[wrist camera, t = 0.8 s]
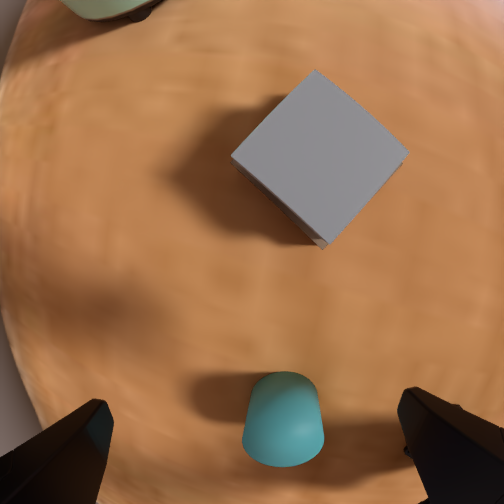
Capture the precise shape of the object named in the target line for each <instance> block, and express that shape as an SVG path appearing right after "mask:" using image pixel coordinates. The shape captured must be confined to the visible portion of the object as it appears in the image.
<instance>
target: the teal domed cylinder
mask: <svg viewBox="0 0 504 504" xmlns="http://www.w3.org/2000/svg"><path fill="white" fill-rule="evenodd" d="M242 443H243V447H244V449H245V451H246V452H247V453H248V455H249V456H250V457H252V458H253V459H254V460H256V461H258V462H260V463H262V464H265V465H269V466H274V467H290V466H295V465H299V464H302V463H305V462H307V461H309V460H310V459H312V458H313V457H315V456H316V455H317V454H318V453H319V452H320V450H321V449H322V446H323V444H324V433H323V426H322V420H321V413H320V407H319V401H318V394H317V390H316V388H315V386H314V384H313V383H312V382H311V381H310V380H309V379H308V378H306V377H305V376H303V375H301V374H298V373H294V372H276V373H272V374H269V375H267V376H265V377H263V378H262V379H261V380H259V381H258V382H257V383H256V385H255V386H254V388H253V390H252V392H251V397H250V402H249V407H248V412H247V417H246V422H245V427H244V432H243V437H242Z"/></svg>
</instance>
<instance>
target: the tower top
mask: <svg viewBox="0 0 504 504" xmlns="http://www.w3.org/2000/svg"><path fill="white" fill-rule="evenodd" d="M409 153H410V152H409V151H408V150H407V149H406V148H405V147H404V146H403V145H402V144H401V143H400V142H399V141H398V140H397V139H396V138H395V137H394V136H393V135H392V134H391V133H390V132H389V131H388V130H387V129H386V128H385V127H384V126H383V125H382V124H381V123H379V122H378V121H377V120H376V119H375V118H374V117H373V116H372V115H371V114H370V113H369V112H367V111H366V110H365V109H364V108H363V107H362V106H361V105H359V104H358V103H357V102H356V101H355V100H354V99H352V98H351V97H350V96H349V95H348V94H346V93H345V92H344V91H343V90H341V89H340V88H339V87H338V86H336V85H335V84H334V83H333V82H331V81H330V80H329V79H327V78H326V77H325V76H323V75H322V74H321V73H319V72H318V71H317V70H314V71H312V72H311V73H310V74H309V75H308V76H307V77H306V78H305V79H304V80H303V81H302V82H301V83H300V84H299V85H298V86H297V87H296V88H295V89H294V90H293V91H292V92H291V93H290V94H289V95H288V96H287V97H286V98H285V99H284V100H283V101H282V102H281V103H280V104H279V105H278V106H277V107H276V108H275V109H274V110H273V111H272V112H271V113H270V114H269V115H268V116H267V117H266V118H265V119H264V120H263V121H262V122H261V123H260V124H259V125H258V126H257V127H256V128H255V129H254V131H253V132H252V133H251V134H250V135H249V136H248V137H247V138H246V139H245V140H244V141H243V142H242V143H241V145H240V146H239V147H238V148H237V149H236V150H235V151H234V152H233V153H232V154H231V157H232V158H233V159H234V160H235V161H236V162H237V163H238V164H239V165H240V166H241V167H242V168H243V169H245V170H246V171H247V172H248V173H249V174H250V175H251V176H253V177H254V178H255V179H256V180H257V181H258V182H260V183H261V184H262V185H263V186H264V187H265V188H266V189H267V190H269V191H270V192H271V193H272V194H273V195H274V196H275V197H276V198H278V199H279V200H280V201H281V202H282V203H283V204H284V205H285V206H286V207H288V208H289V209H290V210H291V211H292V212H293V213H294V214H295V215H296V216H297V217H299V218H300V219H301V220H302V221H303V222H304V223H305V224H306V225H307V226H308V227H309V228H310V229H311V230H313V231H314V232H315V233H316V234H317V235H318V236H319V237H320V238H321V239H322V240H324V241H325V242H327V243H328V244H331V243H332V242H333V241H334V239H335V238H336V237H337V236H338V235H339V234H340V233H341V232H342V231H343V230H344V228H345V227H346V226H347V225H348V224H349V223H350V222H351V221H352V219H353V218H354V217H355V216H356V215H357V214H358V213H359V212H360V210H361V209H362V208H363V207H364V206H365V205H366V204H367V202H368V201H369V200H370V199H371V198H372V197H373V195H374V194H375V193H376V192H377V191H378V190H379V189H380V187H381V186H382V185H383V184H384V183H385V181H386V180H387V179H388V178H389V177H390V176H391V174H392V173H393V172H394V171H395V170H396V168H397V167H398V166H399V165H400V164H401V162H402V161H403V160H404V159H405V157H406V156H407V155H408V154H409Z"/></svg>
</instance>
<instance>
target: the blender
mask: <svg viewBox="0 0 504 504" xmlns="http://www.w3.org/2000/svg"><path fill="white" fill-rule="evenodd" d="M60 1H61V2H62V3H63V4H65V5H66V6H67V7H68V8H69V9H71V10H72V11H73V12H74V13H75V14H77V15H78V16H80V17H82V18H84V19H85V20H88V21H95V22H105V21H111V20H117V19H120V18H123V17H126V16H128V17H129V18H130V19H131V20H132V21H134V22H139V21H142V20H144V19H146V18H147V17H148V16H149V15H150V13H151V11H152V9H151V6H153V5H155V4H156V3H158V2H159V1H161V0H60Z"/></svg>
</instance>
